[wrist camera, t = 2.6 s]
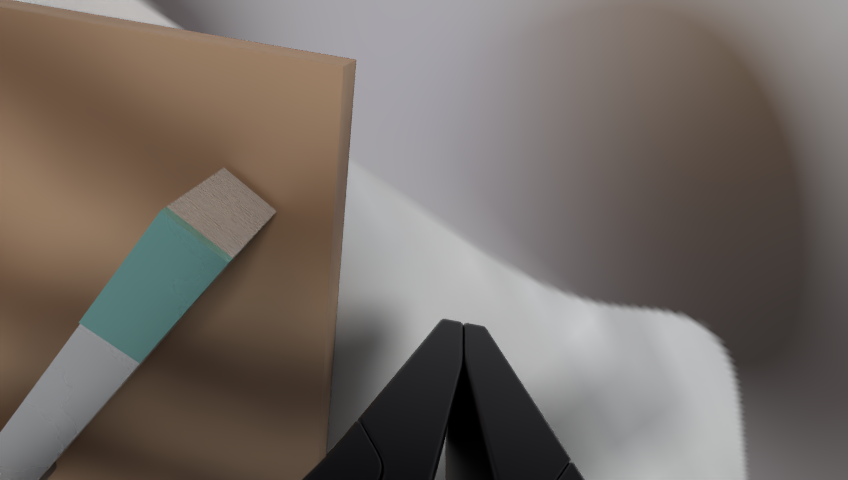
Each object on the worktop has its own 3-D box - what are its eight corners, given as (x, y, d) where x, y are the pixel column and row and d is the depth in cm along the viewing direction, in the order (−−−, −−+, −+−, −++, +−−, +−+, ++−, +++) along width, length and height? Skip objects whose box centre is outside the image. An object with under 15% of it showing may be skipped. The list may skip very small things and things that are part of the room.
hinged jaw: (61, 454, 18) (-2, 523, 15) (21, 430, 17) (-51, 498, 15) (276, 211, 12) (228, 262, 10) (224, 167, 12) (160, 210, 9)
